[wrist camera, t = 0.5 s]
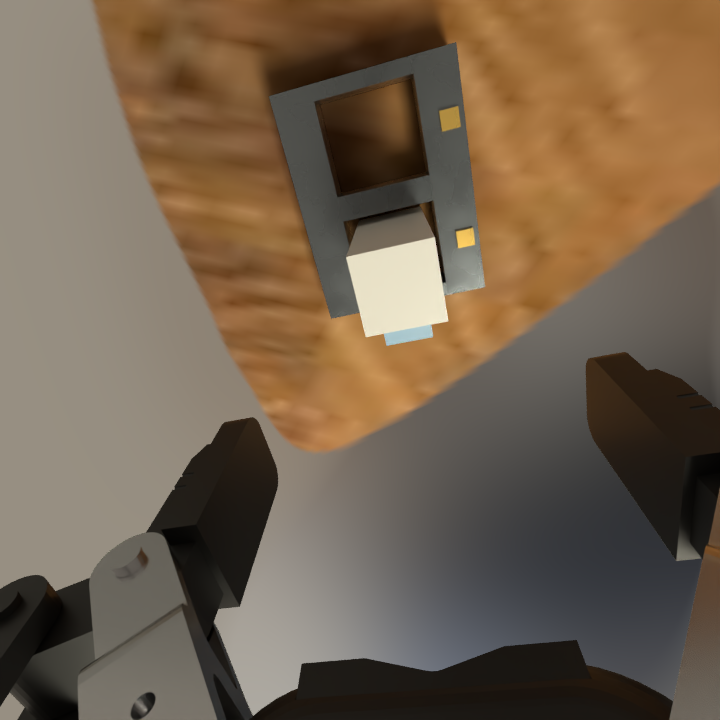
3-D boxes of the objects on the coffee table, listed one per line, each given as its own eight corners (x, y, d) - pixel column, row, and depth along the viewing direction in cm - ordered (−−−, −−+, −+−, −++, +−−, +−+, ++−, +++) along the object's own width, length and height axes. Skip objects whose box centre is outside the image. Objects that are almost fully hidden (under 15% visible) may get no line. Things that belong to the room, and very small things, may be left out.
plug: (359, 220, 29) (345, 257, 20) (420, 206, 28) (434, 237, 19) (375, 294, 31) (370, 356, 22) (432, 282, 30) (451, 341, 22)
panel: (279, 100, 26) (267, 96, 24) (449, 51, 25) (456, 41, 22) (335, 305, 32) (330, 319, 29) (477, 276, 30) (485, 288, 28)
